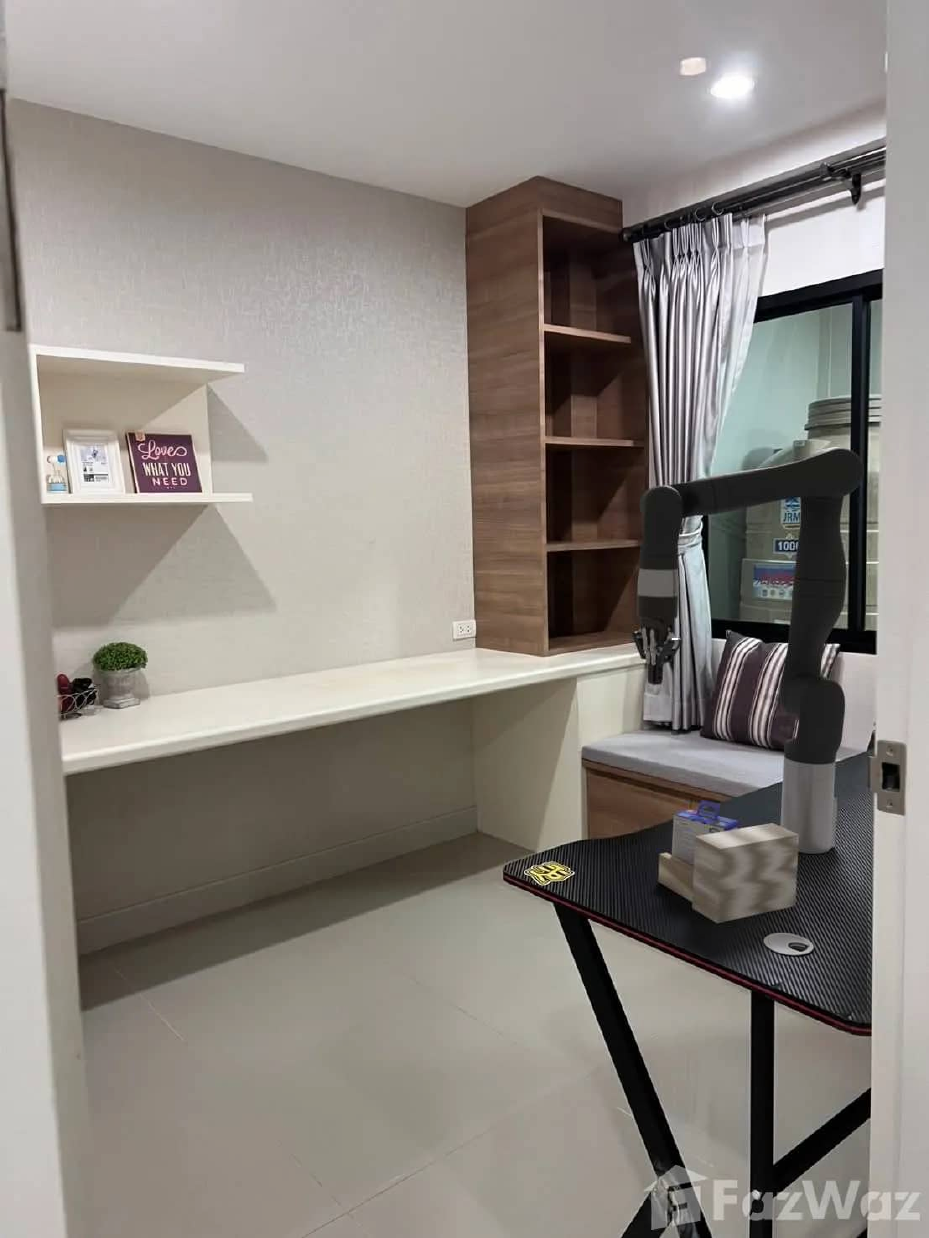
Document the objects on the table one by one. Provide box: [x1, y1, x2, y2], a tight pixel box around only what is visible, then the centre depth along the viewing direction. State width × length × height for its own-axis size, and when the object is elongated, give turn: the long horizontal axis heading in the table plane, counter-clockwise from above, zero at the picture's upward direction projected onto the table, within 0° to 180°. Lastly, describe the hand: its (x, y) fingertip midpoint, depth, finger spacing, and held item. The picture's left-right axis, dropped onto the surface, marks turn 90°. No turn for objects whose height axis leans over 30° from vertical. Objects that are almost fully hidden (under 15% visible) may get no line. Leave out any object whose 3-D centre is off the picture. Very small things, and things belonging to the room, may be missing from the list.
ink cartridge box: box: [671, 799, 739, 867], centre depth 157 cm, size 10×6×14 cm, turn 46°
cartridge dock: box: [658, 822, 799, 924], centre depth 154 cm, size 16×17×12 cm
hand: (654, 683), depth 176 cm, fingers closed
